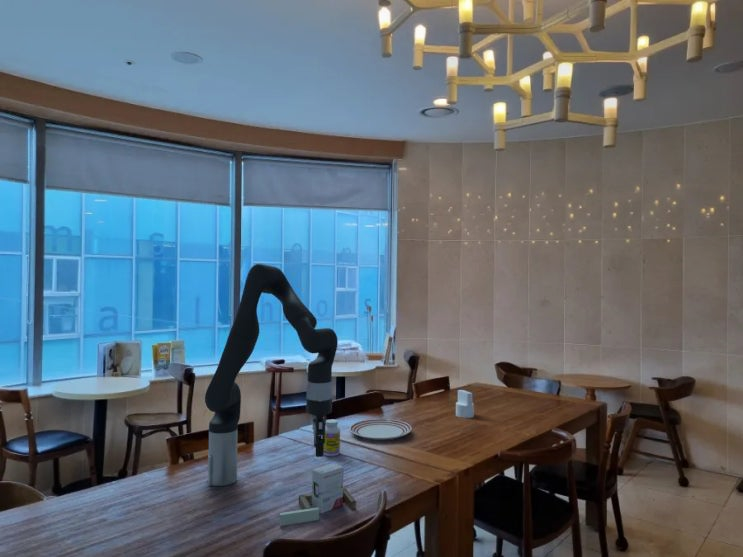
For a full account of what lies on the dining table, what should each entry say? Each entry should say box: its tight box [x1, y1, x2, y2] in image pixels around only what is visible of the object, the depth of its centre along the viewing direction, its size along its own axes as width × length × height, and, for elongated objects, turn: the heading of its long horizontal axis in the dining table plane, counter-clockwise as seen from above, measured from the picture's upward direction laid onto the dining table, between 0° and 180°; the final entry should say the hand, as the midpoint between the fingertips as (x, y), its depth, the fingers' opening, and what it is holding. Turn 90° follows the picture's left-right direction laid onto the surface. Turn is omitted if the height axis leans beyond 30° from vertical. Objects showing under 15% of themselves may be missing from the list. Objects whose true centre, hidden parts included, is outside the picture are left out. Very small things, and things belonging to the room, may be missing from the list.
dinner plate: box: [349, 418, 412, 441], centre depth 228 cm, size 27×27×3 cm
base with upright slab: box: [455, 389, 475, 419], centre depth 260 cm, size 9×9×12 cm
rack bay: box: [298, 488, 357, 511], centre depth 156 cm, size 15×12×8 cm
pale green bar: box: [278, 507, 320, 527], centre depth 144 cm, size 11×1×3 cm, turn 111°
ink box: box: [311, 462, 344, 514], centre depth 154 cm, size 9×5×12 cm, turn 133°
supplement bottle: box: [323, 418, 341, 457], centre depth 201 cm, size 7×7×13 cm
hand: (318, 451), depth 152 cm, fingers open, 8 cm apart
